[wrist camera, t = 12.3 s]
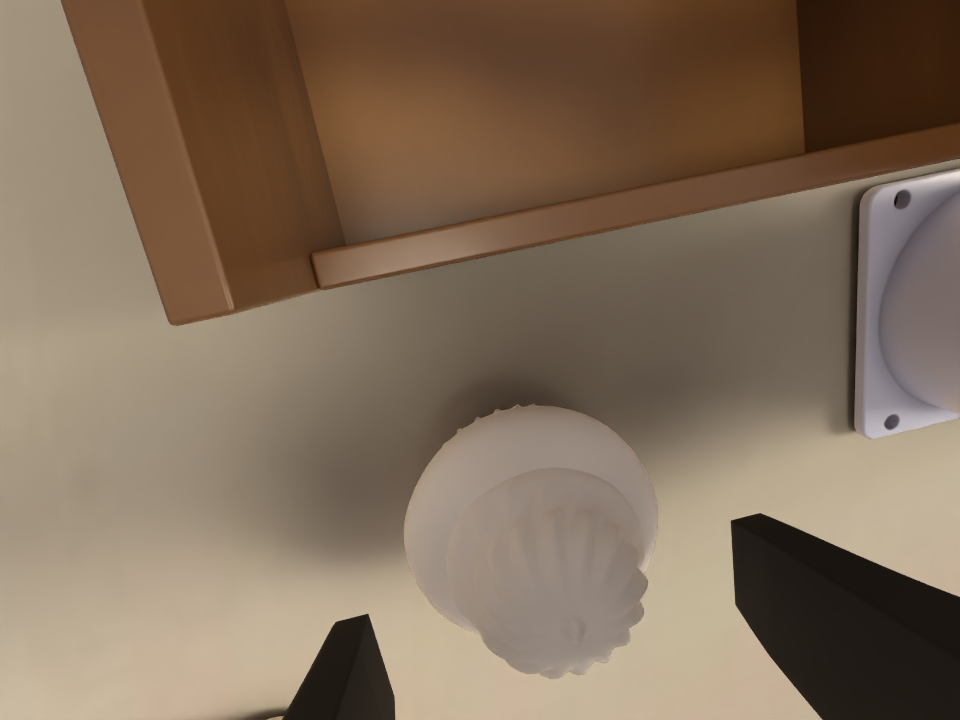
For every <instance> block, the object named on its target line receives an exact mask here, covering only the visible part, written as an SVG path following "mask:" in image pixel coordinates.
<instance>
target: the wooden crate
mask: <svg viewBox="0 0 960 720" xmlns="http://www.w3.org/2000/svg"><path fill="white" fill-rule="evenodd" d="M61 3H62V6H63V9H64V12H65V15H66V18H67V21H68V24H69V27H70V30H71V33H72V36H73V39H74V42H75V45H76V48H77V51H78V54H79V57H80V60H81V63H82V66H83V69H84V72H85V75H86V78H87V81H88V84H89V87H90V90H91V93H92V96H93V99H94V102H95V105H96V107H97V110H98V113H99V116H100V119H101V122H102V125H103V128H104V131H105V134H106V137H107V140H108V143H109V146H110V149H111V152H112V155H113V158H114V161H115V164H116V167H117V170H118V173H119V176H120V179H121V182H122V185H123V188H124V191H125V194H126V197H127V200H128V203H129V206H130V209H131V212H132V215H133V218H134V220H135V223H136V226H137V229H138V232H139V235H140V238H141V241H142V244H143V247H144V250H145V253H146V256H147V259H148V262H149V265H150V268H151V271H152V274H153V277H154V280H155V283H156V286H157V289H158V292H159V295H160V298H161V301H162V304H163V307H164V310H165V313H166V316H167V319H168V321H169V323H170V324H171V325H176V326H178V325H183V324H188V323H193V322H198V321H202V320H207V319H212V318H217V317H222V316H226V315H231V314H235V313H239V312H243V311H247V310H250V309H254V308H258V307H261V306H265V305H269V304H273V303H276V302H280V301H284V300H287V299H291V298H295V297H299V296H302V295H306V294H310V293H314V292H317V291H321V290H327V289H332V288H337V287H342V286H347V285H352V284H356V283H361V282H366V281H371V280H376V279H380V278H385V277H390V276H395V275H400V274H405V273H409V272H414V271H419V270H424V269H429V268H434V267H438V266H443V265H448V264H453V263H458V262H463V261H467V260H472V259H477V258H482V257H487V256H492V255H496V254H501V253H506V252H511V251H516V250H521V249H525V248H530V247H535V246H540V245H545V244H549V243H554V242H559V241H564V240H569V239H574V238H578V237H583V236H588V235H593V234H598V233H603V232H607V231H612V230H617V229H622V228H627V227H632V226H636V225H641V224H646V223H651V222H656V221H661V220H665V219H670V218H675V217H680V216H685V215H690V214H694V213H699V212H704V211H709V210H714V209H719V208H723V207H728V206H733V205H738V204H743V203H747V202H752V201H757V200H762V199H767V198H772V197H776V196H781V195H786V194H791V193H796V192H801V191H805V190H810V189H815V188H820V187H825V186H830V185H834V184H839V183H844V182H849V181H854V180H859V179H863V178H868V177H873V176H878V175H883V174H888V173H892V172H897V171H902V170H907V169H912V168H916V167H921V166H926V165H931V164H936V163H941V162H945V161H950V160H955V159H960V0H61Z"/></svg>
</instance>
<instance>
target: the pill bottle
mask: <svg viewBox="0 0 960 720" xmlns="http://www.w3.org/2000/svg"><path fill="white" fill-rule="evenodd" d="M282 718H283V716H279V717H274V718H270V719H266V720H282Z"/></svg>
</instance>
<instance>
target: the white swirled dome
mask: <svg viewBox="0 0 960 720" xmlns="http://www.w3.org/2000/svg"><path fill="white" fill-rule="evenodd" d="M657 528H658V508H657V501H656V496H655V492H654V489H653V486H652V483H651V481H650V479H649V477H648V475H647V472H646V470H645V468H644V467H643V465H642V463H641V462H640V460H639V459H638V457H637V456H636V454H635V453H634V452H633V450H632V449H631V448H630V447H629V446H628V444H627V443H626V442H625V441H624V440H623V439H622V438H621V437H620V436H619V435H617V434H616V433H615V432H614V431H613V430H611V429H610V428H609V427H607V426H606V425H604V424H603V423H601V422H600V421H598V420H596V419H594V418H592V417H590V416H588V415H586V414H583V413H580V412H578V411H574V410H571V409H566V408H561V407H555V406H536V405H535V404H531V405H529V406H525V407H521V406H520V405H518V404H517V405H516V406H514V407H512V408H511V409H507V410H502V411H501V410H499V409H495V411H494V413H493V414H490V415H488V416H485V417H483V418H480V417H476V418H475V421H474V423H472V424H470V425H468V426H467V427H464V428H460V429H458V430H457V434H456V435H455V436H453V437H452V438H451V439H450V440H449V441H447V442H445V443H443V445H442V448H441V449H440V450H439V451H438V452H437V454H436V455H435V456H434V457H433V459H432V460H431V461H430V462H429V464H428V466H427V467H426V469H425V470H424V472H423V473H422V475H421V477H420V479H419V481H418V483H417V485H416V487H415V489H414V492H413V494H412V497H411V500H410V502H409V505H408V509H407V513H406V517H405V523H404V545H405V552H406V556H407V560H408V563H409V566H410V569H411V572H412V574H413V576H414V578H415V580H416V582H417V584H418V586H419V588H420V589H421V591H422V593H423V594H424V596H425V597H426V598H427V599H428V601H429V602H430V603H431V605H432V606H433V607H434V608H435V609H436V610H437V611H438V612H439V613H440V614H442V615H443V616H444V617H445V618H447V619H448V620H450V621H451V622H453V623H455V624H456V625H458V626H460V627H462V628H464V629H466V630H468V631H470V632H473V633H475V634H478V635H481V636H482V639H483V642H484V643H485V645H486V646H487V647H488V648H489V649H490V650H491V651H492V652H493V653H495V654H496V655H497V656H499V657H501V658H503V659H505V660H506V662H507V663H508V664H509V665H510V666H511V667H513V668H515V669H516V670H518V671H520V672H523V673H526V674H537V673H539V674H540V675H542V676H544V677H547V678H550V679H557V678H560V677H562V676H563V675H564V674H566V673H567V672H568V671H569V672H571V673H573V674H576V675H583V674H585V673H586V672H587V670H588V669H589V667H590V666H591V664H593V663H594V662H600V663H607V662H609V660H610V657H611V653H612V650H613V649H614V648H615V647H620V646H624V645H626V644H628V643H629V641H630V633H629V628H630V627H632V626H634V625H635V624H637V623H638V622H639V621H640V620H641V619H642V617H643V615H644V608H643V606H642V604H641V602H640V599H641V598H642V596H643V595H644V593H645V591H646V589H647V586H648V580H647V578H646V576H645V575H644V573H645V571H646V569H647V567H648V564H649V562H650V559H651V556H652V553H653V550H654V546H655V541H656V536H657Z"/></svg>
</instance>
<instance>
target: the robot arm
mask: <svg viewBox="0 0 960 720" xmlns="http://www.w3.org/2000/svg"><path fill="white" fill-rule="evenodd" d="M896 195H897V196H898V200H897V204H896V205H894V199H895V196H896ZM887 417H888V418H887ZM958 418H960V168H959V169H954V170H949V171H944V172H940V173H935V174H930V175H925V176H920V177H916V178H911V179H906V180H901V181H896V182H892V183H887V184H882V185H877V186H874V187H872V188H870V189H869V190H868V191H867V192H866V193H865V194H864V195H863V197H862V199H861V202H860V211H859V252H858V293H857V333H856V374H855V415H854V426H855V430H856V432H857V433H858V434H860V435H862V436H864V437H867V438H869V439H877V438H881V437H885V436H889V435H893V434H897V433H901V432H905V431H909V430H913V429H917V428H921V427H925V426H929V425H933V424H938V423H942V422H946V421H950V420H954V419H958ZM886 419H887V420H886ZM885 420H886V421H885ZM731 533H732V551H733V569H734V586H735V604H736V606H737V608H738V609H739V611H740V612H741V614H742V616H743V617H744V619H745V620H746V622H747V623H748V625H749V626H750V628H751V629H752V631H753V632H754V634H755V635H756V637H757V638H758V640H759V641H760V643H761V644H762V646H763V647H764V648H765V650H766V651H767V653H768V654H769V656H770V657H771V658H772V659H773V661H774V662H775V663H776V664H777V666H778V667H779V668H780V669H781V670H782V672H783V673H784V674H785V675H786V676H787V678H788V679H789V680H790V681H791V683H792V684H793V685H794V686H795V687H796V689H797V690H798V691H799V692H800V693H801V695H802V696H803V697H804V698H805V699H806V701H807V702H808V703H809V704H810V705H811V706H812V708H813V709H814V710H815V711H816V712H817V714H818V715H819V716H820V717H821V718H822V720H960V597H958V596H955V595H953V594H950V593H948V592H945V591H942V590H940V589H937V588H935V587H932V586H929V585H927V584H925V583H922V582H920V581H917V580H915V579H912V578H910V577H907V576H905V575H902V574H900V573H898V572H895V571H893V570H891V569H888V568H886V567H883V566H881V565H879V564H876V563H874V562H872V561H869V560H867V559H865V558H863V557H860V556H858V555H856V554H853V553H851V552H849V551H847V550H844V549H842V548H840V547H837V546H835V545H833V544H831V543H828V542H826V541H824V540H822V539H819V538H817V537H815V536H813V535H810V534H808V533H806V532H804V531H801V530H799V529H797V528H794V527H792V526H790V525H788V524H785V523H783V522H781V521H778V520H776V519H773V518H771V517H768V516H766V515H763V514H761V513H759V514H755V515H751V516H747V517H743V518H739V519H735V520H731ZM282 720H395V700H394V694H393V691H392V688H391V684H390V681H389V678H388V675H387V672H386V669H385V665H384V662H383V659H382V656H381V653H380V649H379V646H378V643H377V640H376V637H375V634H374V630H373V627H372V624H371V621H370V618H369V614H365V615H361V616H357V617H353V618H350V619H346V620H342V621H338V622H336V623H335V624H334V625H333V627H332V628H331V630H330V632H329V634H328V636H327V638H326V640H325V641H324V643H323V645H322V647H321V649H320V651H319V653H318V655H317V657H316V659H315V660H314V662H313V664H312V666H311V668H310V670H309V672H308V673H307V675H306V677H305V679H304V681H303V683H302V684H301V686H300V688H299V690H298V692H297V694H296V695H295V697H294V699H293V701H292V703H291V704H290V706H289V708H288V709H287V711H286V713H285V715H284V716H283V718H282Z"/></svg>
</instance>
